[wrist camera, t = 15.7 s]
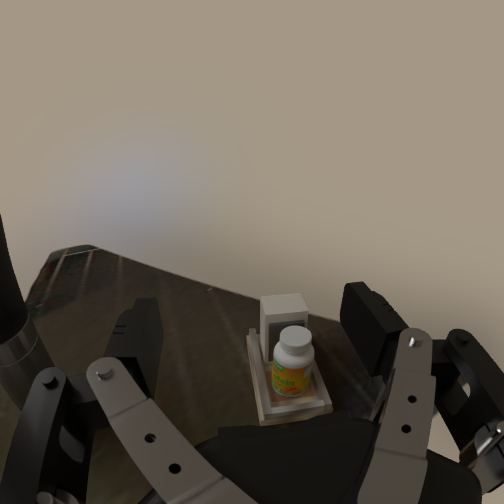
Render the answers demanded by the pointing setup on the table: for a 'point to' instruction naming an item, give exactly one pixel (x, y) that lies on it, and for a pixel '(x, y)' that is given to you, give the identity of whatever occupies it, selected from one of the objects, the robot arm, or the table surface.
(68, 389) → the robot arm
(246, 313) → the table surface
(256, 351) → the birch tray
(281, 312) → the white padded block
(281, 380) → the supplement bottle
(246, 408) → the table surface
